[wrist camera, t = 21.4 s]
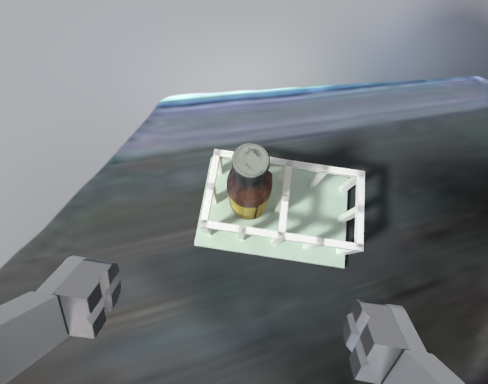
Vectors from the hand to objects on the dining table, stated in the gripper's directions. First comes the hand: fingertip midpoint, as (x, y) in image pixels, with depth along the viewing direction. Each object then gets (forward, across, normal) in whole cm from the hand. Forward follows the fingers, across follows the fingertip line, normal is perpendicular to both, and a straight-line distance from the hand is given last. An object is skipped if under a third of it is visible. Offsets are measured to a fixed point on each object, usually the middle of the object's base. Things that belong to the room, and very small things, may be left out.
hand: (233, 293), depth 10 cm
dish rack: (+35, -5, +18) cm, 40 cm away
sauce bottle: (+35, 0, +17) cm, 39 cm away
